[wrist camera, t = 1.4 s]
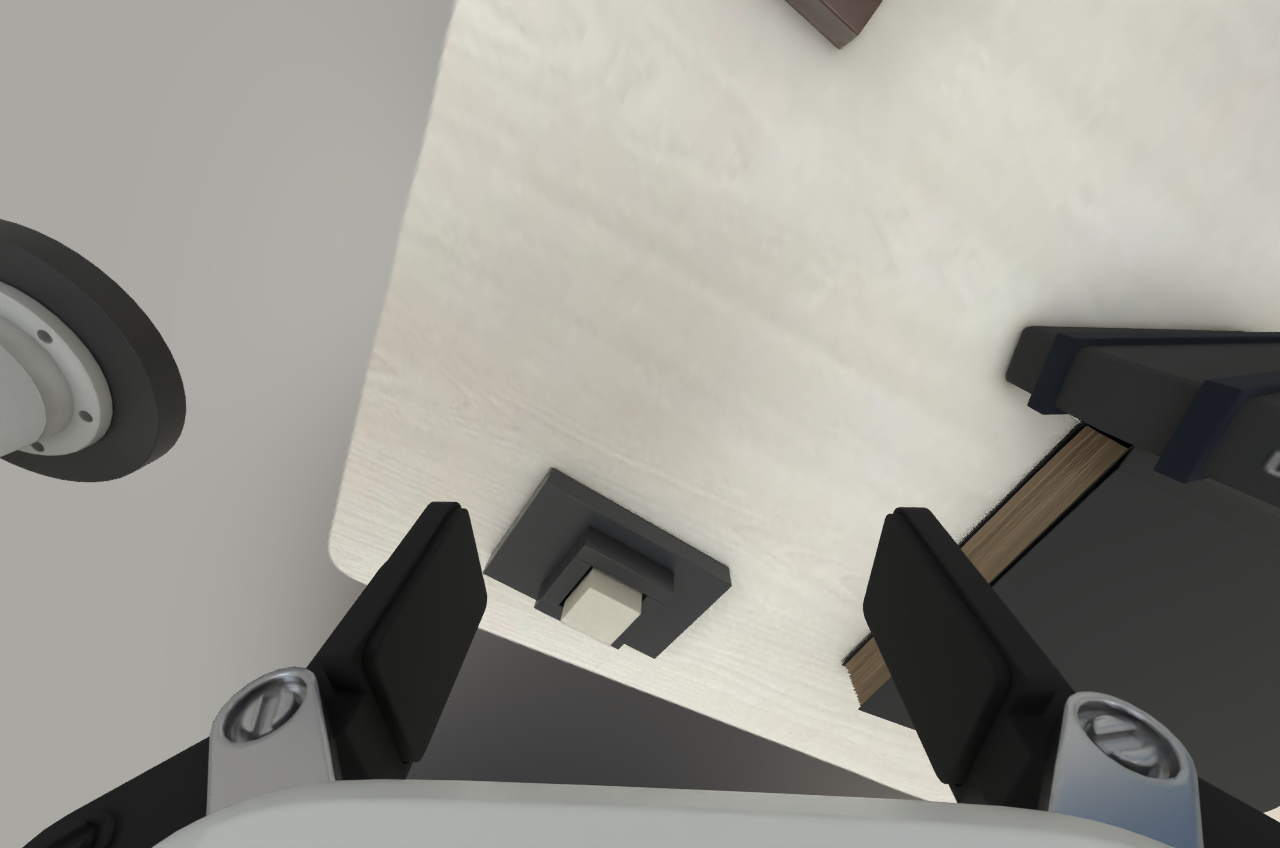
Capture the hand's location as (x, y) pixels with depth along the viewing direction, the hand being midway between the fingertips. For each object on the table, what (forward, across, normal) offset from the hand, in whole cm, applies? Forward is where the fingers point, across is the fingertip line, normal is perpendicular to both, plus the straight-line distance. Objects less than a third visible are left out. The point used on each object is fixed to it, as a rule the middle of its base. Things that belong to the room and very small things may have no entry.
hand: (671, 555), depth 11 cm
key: (+14, +4, +16) cm, 21 cm away
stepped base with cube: (+17, +4, +16) cm, 24 cm away
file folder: (+17, -33, +22) cm, 43 cm away
